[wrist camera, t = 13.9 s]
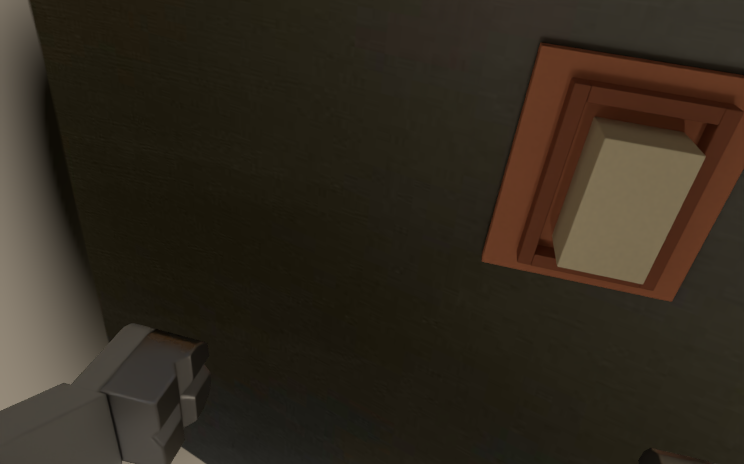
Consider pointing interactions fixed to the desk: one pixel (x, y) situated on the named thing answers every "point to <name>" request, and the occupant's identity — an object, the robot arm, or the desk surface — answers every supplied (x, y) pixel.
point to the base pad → (568, 135)
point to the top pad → (624, 198)
